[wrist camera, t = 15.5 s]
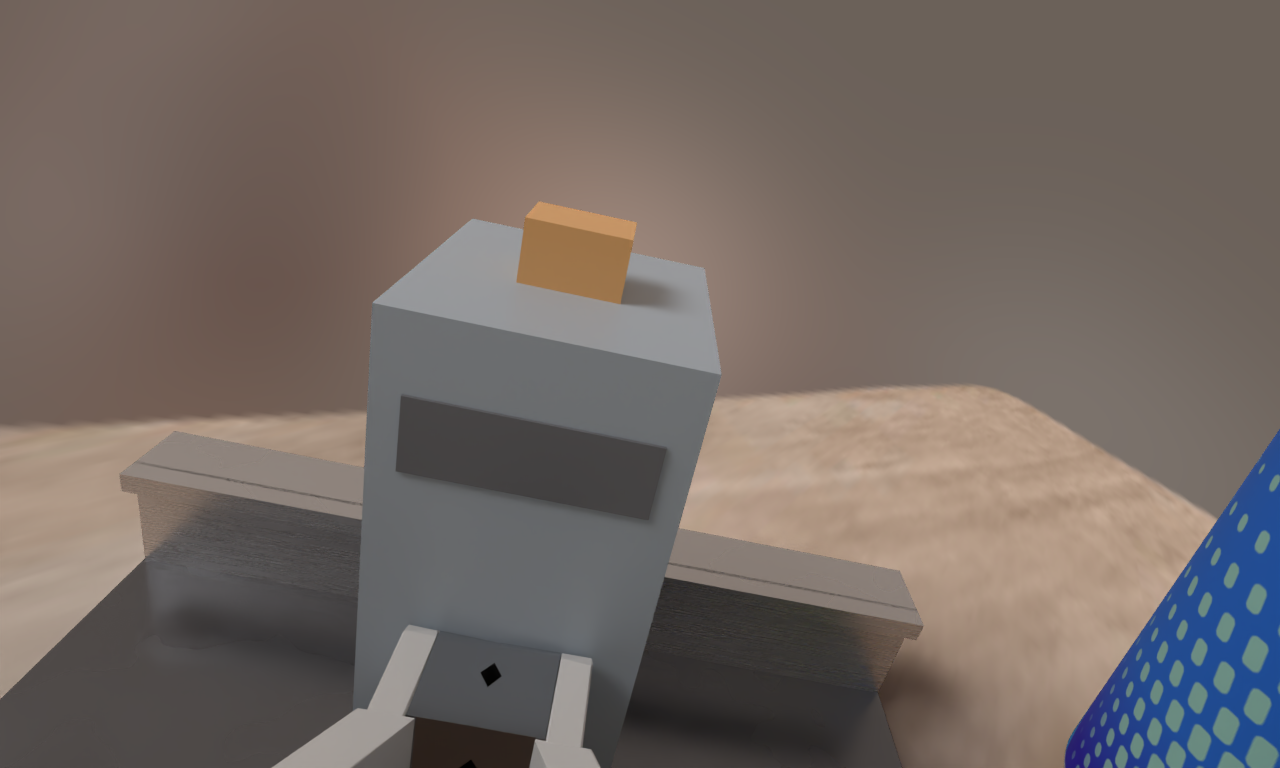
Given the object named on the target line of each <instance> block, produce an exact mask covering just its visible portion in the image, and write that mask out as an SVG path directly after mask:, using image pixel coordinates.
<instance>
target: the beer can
mask: <svg viewBox="0 0 1280 768" xmlns="http://www.w3.org/2000/svg"><path fill="white" fill-rule="evenodd" d="M1064 768H1280V429H1279V431H1278V432H1277V434H1276V436H1275V437H1274V438H1273V440H1272V441H1271V443H1270V444H1269V446H1268V447H1267V449H1266V450H1265V452H1264V453H1263V454H1262V456H1261V457H1260V459H1259V461H1258V462H1257V463H1256V465H1255V466H1254V468H1253V469H1252V470H1251V472H1250V473H1249V475H1248V476H1247V478H1246V479H1245V481H1244V482H1243V484H1242V485H1241V487H1240V488H1239V490H1238V491H1237V493H1236V494H1235V496H1234V497H1233V498H1232V500H1231V501H1230V503H1229V504H1228V506H1227V507H1226V509H1225V510H1224V511H1223V513H1222V514H1221V516H1220V517H1219V519H1218V520H1217V522H1216V523H1215V525H1214V526H1213V528H1212V529H1211V530H1210V532H1209V533H1208V535H1207V536H1206V538H1205V539H1204V541H1203V542H1202V544H1201V545H1200V547H1199V548H1198V550H1197V551H1196V552H1195V554H1194V555H1193V557H1192V558H1191V560H1190V561H1189V563H1188V564H1187V566H1186V567H1185V569H1184V570H1183V571H1182V573H1181V574H1180V576H1179V577H1178V579H1177V580H1176V582H1175V583H1174V585H1173V586H1172V588H1171V589H1170V591H1169V592H1168V593H1167V595H1166V596H1165V598H1164V599H1163V601H1162V602H1161V604H1160V605H1159V607H1158V608H1157V610H1156V611H1155V612H1154V614H1153V615H1152V617H1151V618H1150V620H1149V621H1148V623H1147V624H1146V626H1145V627H1144V629H1143V630H1142V631H1141V633H1140V634H1139V636H1138V637H1137V639H1136V640H1135V642H1134V643H1133V645H1132V646H1131V648H1130V649H1129V651H1128V652H1127V653H1126V655H1125V656H1124V658H1123V659H1122V661H1121V662H1120V664H1119V665H1118V667H1117V668H1116V670H1115V671H1114V672H1113V674H1112V675H1111V677H1110V678H1109V680H1108V681H1107V683H1106V684H1105V686H1104V687H1103V689H1102V690H1101V692H1100V693H1099V694H1098V696H1097V697H1096V699H1095V700H1094V702H1093V703H1092V705H1091V706H1090V708H1089V709H1088V711H1087V712H1086V713H1085V715H1084V716H1083V718H1082V719H1081V721H1080V722H1079V724H1078V725H1077V727H1076V728H1075V730H1074V731H1073V733H1072V735H1071V736H1070V738H1069V741H1068V744H1067V747H1066V750H1065V757H1064Z"/></svg>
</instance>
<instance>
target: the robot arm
mask: <svg viewBox="0 0 1280 768" xmlns="http://www.w3.org/2000/svg"><path fill="white" fill-rule="evenodd" d="M592 667H593V662H592V658H587V657H581V656H576V655H570V654H564V653H562V654H561V653H560V652H554V651H548V650H542V649H536V648H530V647H525V646H519V645H513V644H507V643H498V642H493V641H488V640H483V639H479V638H474V637H469V636H464V635H460V634H455V633H450V632H445V631H438V630H433V629H428V628H423V627H419V626H414V625H408V626H407V628H406V629H405V630H404V631H403V633H402V635H401V637H400V639H399V641H398V644H397V646H396V648H395V650H394V652H393V654H392V657H391V659H390V661H389V663H388V665H387V667H386V670H385V672H384V674H383V676H382V678H381V680H380V683H379V685H378V687H377V689H376V691H375V693H374V696H373V698H372V700H371V702H370V704H369V706H368V709H360V708H357V709H355V710H354V711H352V712H351V713H350V714H348V715H347V716H345V717H344V718H342V719H341V720H340V721H338V722H337V723H335V724H334V725H332V726H331V727H329V728H328V729H327V730H325V731H324V732H322V733H321V734H319V735H318V736H316V737H315V738H314V739H312V740H311V741H309V742H308V743H306V744H305V745H304V746H302V747H301V748H299V749H298V750H296V751H295V752H293V753H292V754H291V755H289V756H288V757H286V758H285V759H283V760H282V761H281V762H279V763H278V764H276V765H275V766H273V767H272V768H601V767H600V765H599V763H598V761H597V759H596V757H595V755H594V753H593V751H592V750H591V749H587V748H582V747H583V739H584V731H585V723H586V715H587V707H588V699H589V691H590V683H591V675H592Z"/></svg>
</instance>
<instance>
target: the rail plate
mask: <svg viewBox="0 0 1280 768" xmlns="http://www.w3.org/2000/svg"><path fill="white" fill-rule="evenodd" d="M120 482H121V489H122V491H124V492H129V493H134V494H138V503H139V511H140V520H141V528H142V537H143V545H144V554H145V559H144V560H143V561H142V562H141V563H140V564H139V565H138V566H137V567H136V568H135V569H134V570H133V571H132V572H131V573H130V574H129V575H128V576H127V577H126V578H125V579H123V580H122V581H121V582H120V583H119V584H118V585H117V586H116V587H115V588H114V589H113V590H112V591H111V592H110V593H109V594H108V595H107V596H106V597H105V598H104V599H103V600H102V601H101V602H100V603H99V604H98V605H97V606H96V607H95V608H94V609H93V610H92V611H91V612H90V613H89V614H88V615H87V616H85V617H84V618H83V619H82V620H81V621H80V622H79V623H78V624H77V625H76V626H75V627H74V628H73V629H72V630H71V631H70V632H69V633H68V634H67V635H66V636H65V637H64V638H63V639H62V640H61V641H60V642H59V643H58V644H57V645H56V646H55V647H54V648H53V649H52V650H51V651H50V652H48V653H47V654H46V655H45V656H44V657H43V658H42V659H41V660H40V661H39V662H38V663H37V664H36V665H35V666H34V667H33V668H32V669H31V670H30V671H29V672H28V673H27V674H26V675H25V676H24V677H23V678H22V679H21V680H20V681H19V682H18V683H17V684H16V685H15V686H14V687H13V688H12V689H10V690H9V691H8V692H7V693H6V694H5V695H4V696H3V697H2V698H1V699H0V768H272V767H273V766H275V765H276V764H278V763H279V762H281V761H282V760H283V759H285V758H286V757H288V756H289V755H291V754H292V753H293V752H295V751H296V750H298V749H299V748H301V747H302V746H304V745H305V744H306V743H308V742H309V741H311V740H312V739H314V738H315V737H316V736H318V735H319V734H321V733H322V732H324V731H325V730H327V729H328V728H329V727H331V726H332V725H334V724H335V723H337V722H338V721H340V720H341V719H342V718H344V717H345V716H347V715H348V714H350V713H351V712H352V711H353V693H354V672H355V652H356V631H357V610H358V590H359V569H360V548H361V528H362V507H363V486H364V467H358V466H353V465H348V464H343V463H338V462H333V461H327V460H322V459H317V458H312V457H307V456H301V455H296V454H291V453H286V452H281V451H276V450H270V449H265V448H260V447H255V446H250V445H244V444H239V443H234V442H229V441H224V440H219V439H213V438H208V437H203V436H198V435H193V434H187V433H182V432H177V431H174V432H173V433H172V434H170V435H169V436H168V437H167V438H165V439H164V440H163V441H161V442H160V443H159V444H158V445H156V446H155V447H154V448H152V449H151V450H150V451H148V452H147V453H146V454H145V455H143V456H142V457H141V458H139V459H138V460H137V461H136V462H134V463H133V464H132V465H130V466H129V467H128V468H127V469H125V470H124V471H123V472H121V473H120ZM923 627H924V625H923V623H922V621H921V618H920V616H919V614H918V612H917V609H916V607H915V605H914V603H913V600H912V598H911V596H910V593H909V591H908V589H907V587H906V584H905V582H904V580H903V578H902V575H901V573H900V571H898V570H892V569H887V568H882V567H877V566H872V565H867V564H861V563H856V562H851V561H846V560H841V559H835V558H830V557H825V556H820V555H815V554H810V553H804V552H799V551H794V550H789V549H784V548H778V547H773V546H768V545H763V544H758V543H752V542H747V541H742V540H737V539H732V538H727V537H721V536H716V535H711V534H706V533H701V532H695V531H690V530H685V529H680V528H678V531H677V534H676V538H675V542H674V545H673V549H672V552H671V556H670V559H669V563H668V566H667V570H666V573H665V577H664V581H663V584H662V588H661V591H660V595H659V598H658V602H657V605H656V609H655V612H654V616H653V620H652V623H651V627H650V630H649V634H648V637H647V641H646V644H645V648H644V651H643V655H642V659H641V662H640V666H639V669H638V673H637V676H636V680H635V683H634V687H633V690H632V694H631V698H630V701H629V705H628V708H627V712H626V715H625V719H624V722H623V726H622V729H621V733H620V737H619V740H618V744H617V747H616V751H615V754H614V758H613V761H612V765H611V768H902V766H901V763H900V760H899V757H898V754H897V751H896V747H895V744H894V741H893V738H892V735H891V732H890V729H889V726H888V723H887V720H886V717H885V713H884V710H883V707H882V704H881V701H880V698H879V695H878V691H879V689H880V687H881V685H882V683H883V681H884V679H885V677H886V675H887V673H888V671H889V669H890V667H891V665H892V663H893V661H894V659H895V657H896V655H897V653H898V650H899V648H900V646H901V644H902V642H903V640H904V638H907V639H912V640H917V638H918V636H919V634H920V632H921V631H922V629H923Z"/></svg>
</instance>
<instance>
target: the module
mask: <svg viewBox="0 0 1280 768" xmlns="http://www.w3.org/2000/svg"><path fill="white" fill-rule="evenodd" d="M636 225H637V223H636V222H632V221H627V220H622V219H618V218H612V217H608V216H603V215H599V214H595V213H590V212H585V211H581V210H576V209H571V208H567V207H562V206H558V205H553V204H548V203H544V202H538V203H537V204H536V206H535V207H534V208H533V209H532V210H531V211H530V212H529V213H528V215H527V216H526V217H525V223H524V230H523V229H519V228H514V227H509V226H505V225H500V224H495V223H491V222H486V221H481V220H477V219H472V220H471V221H469V222H468V223H467V224H466V225H464V226H463V227H462V228H461V229H460V230H458V231H457V232H456V233H455V234H454V235H453V236H451V237H450V238H449V239H448V240H447V241H445V242H444V243H443V244H442V245H441V246H440V247H438V248H437V249H436V250H435V251H433V252H432V253H431V254H430V255H429V256H428V257H426V258H425V259H424V260H423V261H422V262H420V263H419V264H418V265H417V266H416V267H414V268H413V269H412V270H411V271H410V272H408V273H407V274H406V275H405V276H404V277H402V278H401V279H400V280H399V281H398V282H397V283H395V284H394V285H393V286H392V287H391V288H389V289H388V290H387V291H386V292H385V293H384V294H382V295H381V296H380V297H379V298H378V299H376V300H375V301H374V302H373V303H372V321H371V322H372V323H371V342H370V364H369V383H368V404H367V424H366V445H365V466H364V486H363V507H362V528H361V548H360V569H359V590H358V610H357V631H356V652H355V672H354V693H353V711H354V710H355V709H357V708H360V709H368V706H369V704H370V702H371V700H372V698H373V696H374V693H375V691H376V689H377V687H378V685H379V683H380V680H381V678H382V676H383V674H384V672H385V670H386V667H387V665H388V663H389V661H390V659H391V657H392V654H393V652H394V650H395V648H396V646H397V644H398V641H399V639H400V637H401V635H402V633H403V631H404V630H405V629H406V628H407V626H408V625H414V626H419V627H423V628H428V629H433V630H438V631H445V632H450V633H455V634H460V635H464V636H469V637H474V638H479V639H483V640H488V641H493V642H498V643H507V644H513V645H519V646H525V647H530V648H536V649H542V650H548V651H554V652H560V653H561V654H562V653H564V654H570V655H576V656H581V657H587V658H592V662H593V667H592V675H591V683H590V691H589V699H588V707H587V715H586V723H585V731H584V739H583V747H582V748H587V749H591V750H592V751H593V753H594V755H595V757H596V759H597V761H598V763H599V765H600V767H601V768H611V765H612V761H613V758H614V754H615V751H616V747H617V744H618V740H619V737H620V733H621V729H622V726H623V722H624V719H625V715H626V712H627V708H628V705H629V701H630V698H631V694H632V690H633V687H634V683H635V680H636V676H637V673H638V669H639V666H640V662H641V659H642V655H643V651H644V648H645V644H646V641H647V637H648V634H649V630H650V627H651V623H652V620H653V616H654V612H655V609H656V605H657V602H658V598H659V595H660V591H661V588H662V584H663V581H664V577H665V573H666V570H667V566H668V563H669V559H670V556H671V552H672V549H673V545H674V542H675V538H676V534H677V531H678V527H679V524H680V520H681V517H682V513H683V510H684V506H685V503H686V499H687V495H688V492H689V488H690V485H691V481H692V478H693V474H694V471H695V467H696V464H697V460H698V456H699V453H700V449H701V446H702V442H703V439H704V435H705V432H706V428H707V425H708V421H709V417H710V414H711V410H712V407H713V403H714V400H715V396H716V393H717V389H718V386H719V382H720V378H721V368H720V363H719V356H718V350H717V343H716V337H715V331H714V325H713V318H712V312H711V306H710V300H709V293H708V287H707V281H706V275H705V269H704V268H701V267H696V266H692V265H687V264H682V263H678V262H673V261H668V260H664V259H659V258H654V257H650V256H645V255H640V254H636V253H631V250H632V245H633V240H634V235H635V230H636Z"/></svg>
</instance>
